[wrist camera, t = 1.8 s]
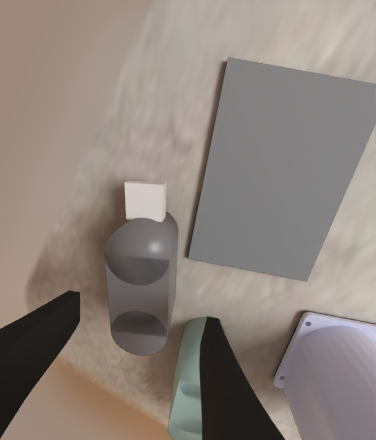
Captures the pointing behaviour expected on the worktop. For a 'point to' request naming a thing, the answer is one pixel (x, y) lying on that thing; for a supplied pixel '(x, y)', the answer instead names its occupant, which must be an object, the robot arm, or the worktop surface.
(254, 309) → the worktop surface
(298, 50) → the worktop surface
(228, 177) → the mat
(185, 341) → the teal plug
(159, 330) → the plug
